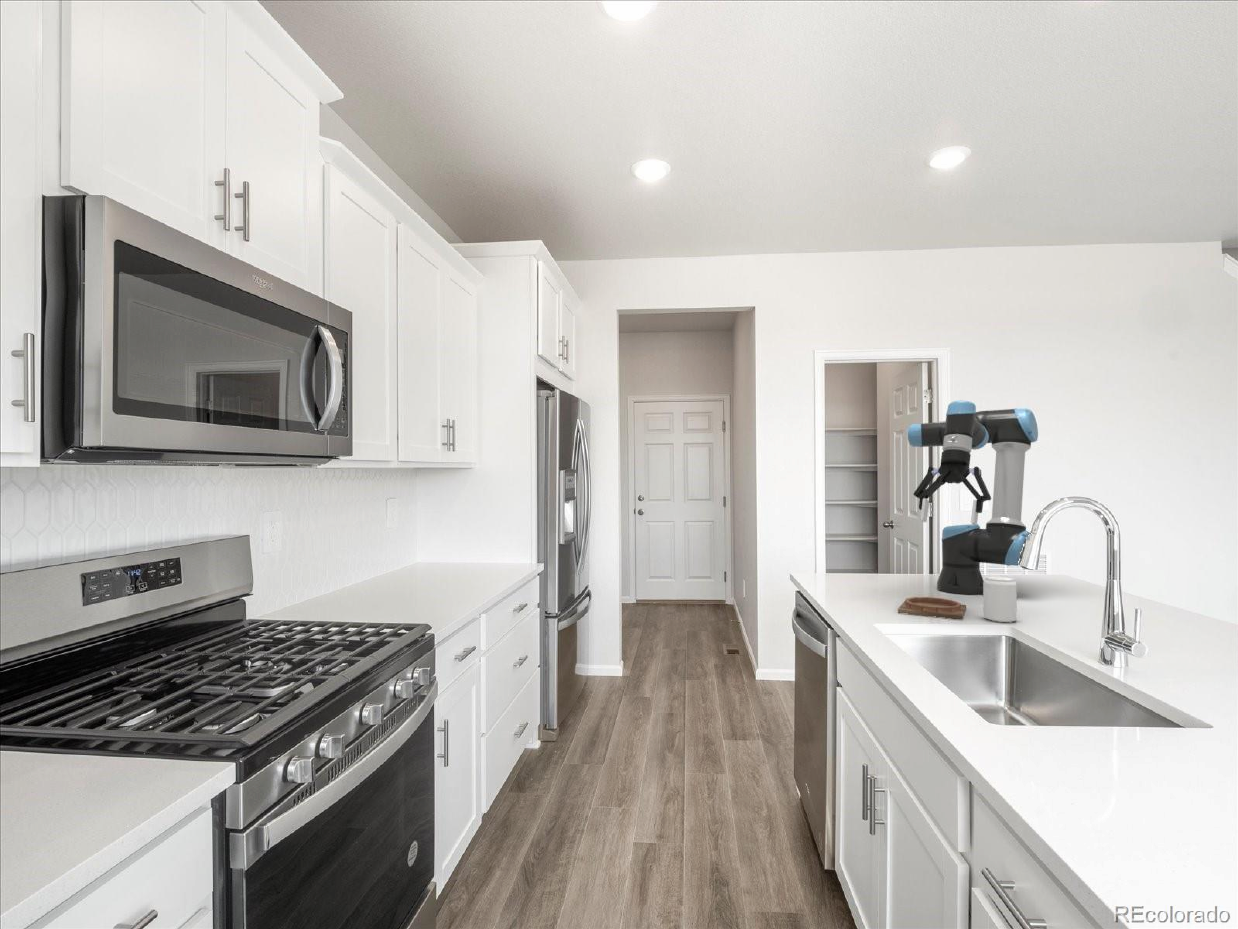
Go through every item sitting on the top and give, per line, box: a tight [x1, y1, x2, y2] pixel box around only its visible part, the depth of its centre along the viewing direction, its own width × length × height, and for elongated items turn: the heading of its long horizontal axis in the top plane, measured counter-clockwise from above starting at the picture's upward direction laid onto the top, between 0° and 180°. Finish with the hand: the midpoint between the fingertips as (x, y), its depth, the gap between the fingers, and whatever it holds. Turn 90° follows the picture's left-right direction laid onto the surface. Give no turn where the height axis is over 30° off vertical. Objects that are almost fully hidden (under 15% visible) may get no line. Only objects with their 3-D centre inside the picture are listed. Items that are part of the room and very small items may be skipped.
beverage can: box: [982, 575, 1018, 623], centre depth 182 cm, size 8×8×12 cm
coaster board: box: [897, 596, 967, 620], centre depth 194 cm, size 17×17×3 cm
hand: (947, 522), depth 183 cm, fingers open, 13 cm apart
